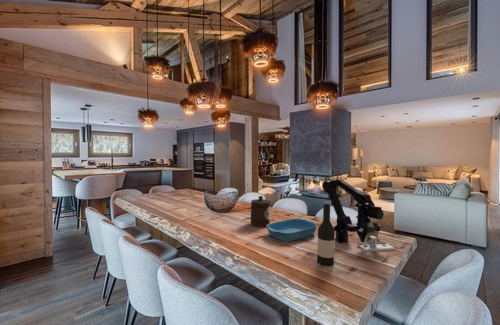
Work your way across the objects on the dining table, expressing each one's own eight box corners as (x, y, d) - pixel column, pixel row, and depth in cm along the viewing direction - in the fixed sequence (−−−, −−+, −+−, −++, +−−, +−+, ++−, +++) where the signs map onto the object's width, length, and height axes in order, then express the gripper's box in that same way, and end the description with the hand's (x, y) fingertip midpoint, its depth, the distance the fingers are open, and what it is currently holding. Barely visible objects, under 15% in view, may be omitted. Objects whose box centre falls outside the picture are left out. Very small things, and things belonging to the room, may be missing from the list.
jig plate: (365, 251, 132) (365, 247, 131) (357, 245, 139) (357, 242, 139) (394, 250, 134) (394, 246, 134) (384, 244, 142) (385, 241, 142)
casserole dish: (282, 246, 138) (283, 234, 138) (260, 235, 156) (260, 224, 156) (323, 234, 159) (323, 224, 159) (298, 226, 177) (299, 216, 177)
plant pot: (371, 240, 148) (372, 227, 148) (360, 235, 157) (361, 223, 157) (383, 239, 150) (384, 226, 150) (372, 234, 160) (372, 222, 159)
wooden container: (270, 227, 173) (271, 197, 172) (250, 227, 173) (250, 197, 172) (269, 221, 188) (269, 194, 187) (250, 221, 188) (251, 194, 187)
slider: (372, 247, 134) (372, 238, 134) (368, 244, 138) (368, 236, 138) (377, 246, 134) (377, 238, 134) (373, 244, 138) (373, 235, 138)
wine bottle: (330, 259, 121) (332, 201, 120) (337, 266, 113) (338, 204, 112) (314, 259, 121) (315, 201, 120) (319, 266, 112) (321, 204, 112)
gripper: (356, 219, 126) (355, 248, 126) (387, 219, 128) (386, 247, 129) (345, 214, 137) (344, 241, 137) (374, 213, 139) (373, 239, 140)
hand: (362, 242), depth 135 cm, fingers closed
